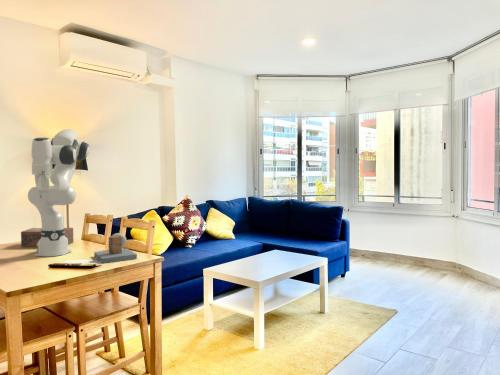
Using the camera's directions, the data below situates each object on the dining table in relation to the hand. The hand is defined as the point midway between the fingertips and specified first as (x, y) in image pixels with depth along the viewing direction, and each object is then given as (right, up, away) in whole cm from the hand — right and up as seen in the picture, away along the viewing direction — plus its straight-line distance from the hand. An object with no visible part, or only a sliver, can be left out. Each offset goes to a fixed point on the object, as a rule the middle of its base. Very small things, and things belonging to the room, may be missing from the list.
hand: (43, 199), depth 188 cm
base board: (+27, -33, +24) cm, 49 cm away
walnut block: (+27, -30, +24) cm, 47 cm away
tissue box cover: (-27, -31, +57) cm, 71 cm away
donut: (+21, -32, +45) cm, 59 cm away
